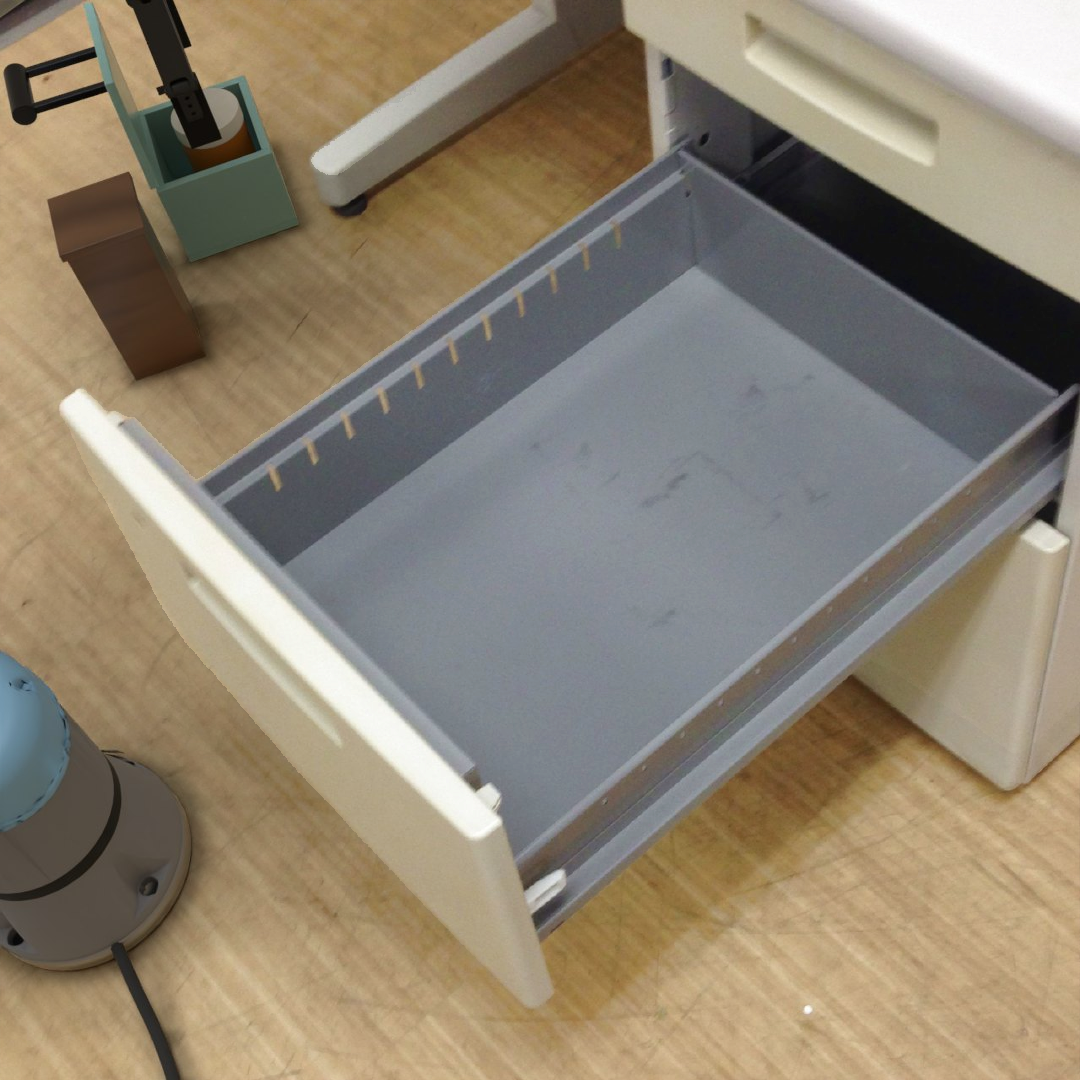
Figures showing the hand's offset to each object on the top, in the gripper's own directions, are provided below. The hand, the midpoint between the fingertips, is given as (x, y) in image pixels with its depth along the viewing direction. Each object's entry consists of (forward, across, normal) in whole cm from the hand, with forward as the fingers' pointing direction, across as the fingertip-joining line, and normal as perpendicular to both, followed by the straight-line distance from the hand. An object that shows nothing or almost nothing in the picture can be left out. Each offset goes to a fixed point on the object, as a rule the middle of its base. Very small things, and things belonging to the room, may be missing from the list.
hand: (191, 94), depth 133 cm
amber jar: (+12, 0, 0) cm, 12 cm away
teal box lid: (-2, 0, +5) cm, 5 cm away
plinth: (+13, -14, +10) cm, 22 cm away
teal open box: (+13, 0, 0) cm, 13 cm away
